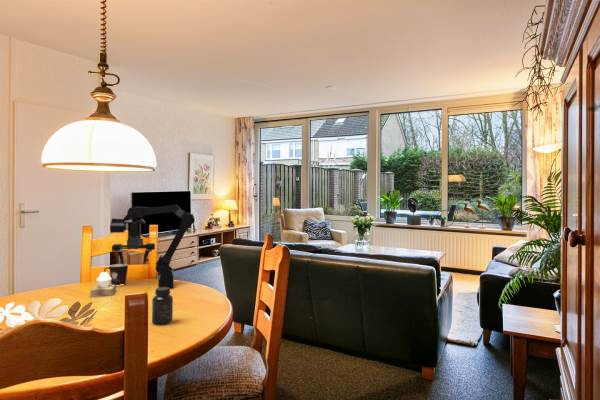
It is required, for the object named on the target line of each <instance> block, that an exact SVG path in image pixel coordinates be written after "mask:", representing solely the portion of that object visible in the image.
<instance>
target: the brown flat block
mask: <svg viewBox="0 0 600 400" xmlns="http://www.w3.org/2000/svg"><path fill="white" fill-rule="evenodd" d="M116 292H117V286H116V285H111V284H109V286H108V287H105V288H100V287H99V285H94V286H93V287H92V288H91V290H90V298H101V297H102V298H103V297H113V296H115V293H116Z"/></svg>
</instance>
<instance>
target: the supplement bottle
mask: <svg viewBox="0 0 600 400" xmlns="http://www.w3.org/2000/svg"><path fill="white" fill-rule="evenodd" d="M154 291H155V292H154V293H155V295H154V296H153V298H152V300H151V323H152V325H155V326H166V325H169V324H170V323H172V322H173V319H174V318H173V317H174V315H173V313H174V311H173V309H174V304H173V303H174V300H173V296H172V295H171V288H169V287H156V288H155V290H154Z"/></svg>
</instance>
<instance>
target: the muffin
mask: <svg viewBox="0 0 600 400" xmlns="http://www.w3.org/2000/svg"><path fill="white" fill-rule="evenodd" d="M111 280H112V278H111V276H110V273H109V272H106V271H105V272H104V271H103V272H100V273H99V276H98V277H97V278H96V283H97V286H99V287H100V288H105V287H108V286H109V285H111Z"/></svg>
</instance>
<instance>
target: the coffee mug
mask: <svg viewBox="0 0 600 400" xmlns="http://www.w3.org/2000/svg"><path fill="white" fill-rule="evenodd" d="M128 268H129V264H128V263H124V265H123V264H122V263H116V264H115V263H114V264H110V265H108V266H107V267H105V268H104V269H103V272H106V270H107V269H108V270H109V276H110V277H111V278H112V280H111V282H110V285H111V284H112V285H120V284H125V283H126V282H127V276H128ZM125 285H126V284H125Z"/></svg>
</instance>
